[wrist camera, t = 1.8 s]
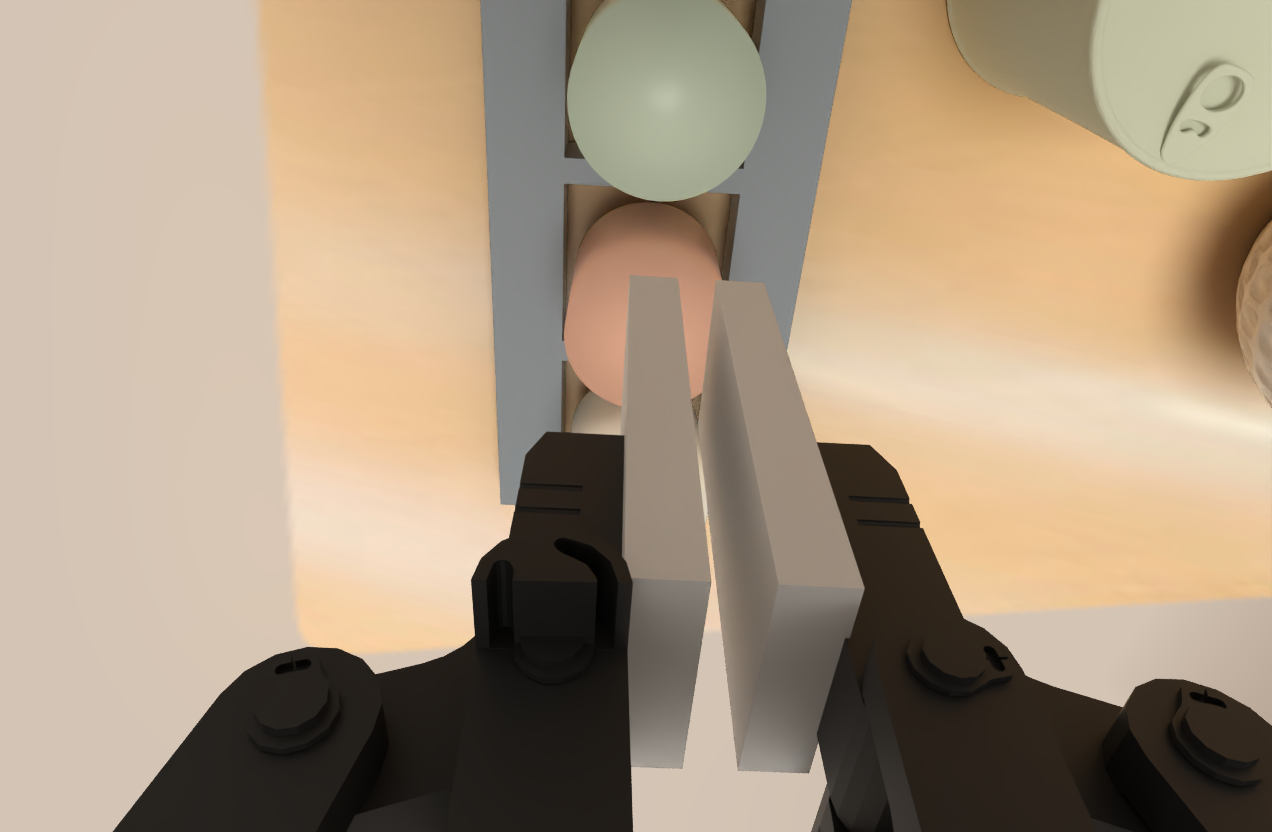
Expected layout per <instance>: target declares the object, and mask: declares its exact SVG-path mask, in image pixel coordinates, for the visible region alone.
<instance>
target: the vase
mask: <svg viewBox="0 0 1272 832" xmlns="http://www.w3.org/2000/svg"><path fill="white" fill-rule="evenodd" d="M1236 328H1237V333H1238V337H1239V342H1240V347H1241V351H1242V355H1243V359H1244V363H1245V366H1246V368H1247V369H1248V371H1249V373H1250V375H1251V377H1252V379H1253V381H1254V382H1255V384H1256V386H1257V387H1258V389H1259V391H1260V393H1261V394H1262V396H1263V398H1264V400H1265V401H1266V402H1267V403H1268V404H1269V405H1270V406H1271V408H1272V220H1271V221H1270V222H1269V223H1268V224H1267V226H1266V227H1265V228H1264V229H1263V231H1262V232H1261V234H1260V235H1259V237H1258V238H1257V240H1256V241H1255V243H1254V245H1253V247H1252V248H1251V250H1250V252H1249V254H1248V256H1247V259H1246V261H1245V263H1244V266H1243V268H1242V271H1241V274H1240V277H1239V281H1238V287H1237V293H1236Z"/></svg>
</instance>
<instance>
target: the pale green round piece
mask: <svg viewBox="0 0 1272 832" xmlns="http://www.w3.org/2000/svg"><path fill="white" fill-rule="evenodd" d="M567 106H568V115H569V121H570V126H571V129H572V132H573V136H574V138H575V140H576V143H577V145H578V147H579V149H580V151H581V153H582V154H583V156H584V157H585V159H586V161H587V162H588V163H589V164H590V166H591V167H592V168H593V169H594V170H595V171H596V172H597V173H598V174H599V175H600V176H601V177H602V178H603V179H604V180H605V181H607V182H608V183H609V184H611V185H612V186H614V187H615V188H617V189H619V190H621V191H622V192H624V193H627V194H629V195H632V196H634V197H638V198H642V199H645V200H652V201H677V200H684V199H688V198H692V197H695V196H698V195H700V194H703V193H705V192H707V191H709V190H711V189H713V188H714V187H716V186H718V185H719V184H721V183H722V182H723V181H725V180H726V179H727V178H729V177H730V176H731V175H732V174H733V173H734V172H735V171H736V170H737V169H738V168H739V167H740V165H741V164H742V163H743V162H744V160H745V159H746V158H747V156H748V155H749V153H750V151H751V150H752V148H753V146H754V144H755V142H756V140H757V138H758V136H759V133H760V130H761V127H762V124H763V119H764V114H765V108H766V81H765V75H764V69H763V66H762V63H761V59H760V56H759V54H758V52H757V49H756V47H755V45H754V43H753V41H752V40H751V38H750V37H749V35H748V34H747V32H746V31H745V29H744V28H743V27H742V26H741V24H740V23H739V22H738V20H737V19H736V18H735V17H734V15H733V14H732V13H731V12H730V10H729V9H728V8H727V7H726V5H725V4H724V3H723V2H722V1H721V0H604V1H603V2H602V3H601V4H600V5H599V6H598V8H597V9H596V11H595V12H594V14H593V15H592V17H591V19H590V21H589V23H588V25H587V27H586V29H585V32H584V35H583V38H582V40H581V43H580V46H579V48H578V51H577V54H576V56H575V59H574V62H573V65H572V68H571V72H570V77H569V82H568V92H567Z"/></svg>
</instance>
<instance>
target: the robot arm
mask: <svg viewBox="0 0 1272 832" xmlns="http://www.w3.org/2000/svg"><path fill="white" fill-rule="evenodd" d="M698 430H699V439H700V448H701V456H702V465H703V474H704V482H705V491H706V499H707V508H708V517H709V525H710V534H711V543H712V551H713V560H714V568H715V577H716V586H717V594H718V603H719V612H720V620H721V629H722V637H723V646H724V655H725V663H726V671H727V681H728V689H729V697H730V706H731V715H732V723H733V731H734V741H735V749H736V758H737V767H738V771H760V772H788V773H809V772H810V768H811V765H812V762H813V758H814V755H815V751H816V748H817V745H818V742H819V746H820V752H821V756H822V761H823V766H824V770H825V775H826V779H827V785H826V788H825V792H824V794H823V798H822V801H821V804H820V807H819V810H818V813H817V816H816V819H815V822H814V825H813V828H812V831H811V832H1272V726H1271V725H1270V724H1269V723H1268V722H1266V721H1265V720H1264V719H1263V718H1262V717H1260V716H1259V715H1258V714H1257V713H1256V712H1254V711H1253V710H1252V709H1251V708H1249V707H1247V706H1245V705H1243V704H1242V703H1240V702H1238V701H1236V700H1234V699H1233V698H1230V697H1229V696H1227V695H1225V694H1223V693H1222V692H1220V691H1218V690H1216V689H1212V688H1209V687H1206V686H1203V685H1199V684H1196V683H1193V682H1190V681H1186V680H1177V679H1154V680H1152V681H1149V682H1147V683H1145V684H1142V685H1140V686H1137V687H1135V689H1134V690H1133V692H1132V694H1131V695H1130V697H1129V699H1128V700H1127V702H1126V704H1125V705H1124V707H1120V706H1116V705H1113V704H1109V703H1106V702H1103V701H1100V700H1096V699H1093V698H1090V697H1087V696H1083V695H1080V694H1077V693H1073V692H1070V691H1066V690H1063V689H1060V688H1057V687H1053V686H1050V685H1048V684H1045V683H1042V682H1040V681H1037V680H1035V679H1032V678H1030V677H1028V676H1026V675H1025V674H1024V672H1023V670H1022V668H1021V667H1020V665H1019V664H1018V662H1017V661H1016V660H1015V658H1014V657H1013V655H1012V654H1011V652H1010V651H1009V649H1008V648H1007V647H1006V646H1005V645H1004V644H1002V643H1001V642H1000V641H999V640H997V639H996V638H995V637H994V636H993V635H991V634H990V633H989V632H988V631H986V630H985V629H984V628H982V627H980V626H978V625H976V624H974V623H971V622H969V621H967V620H965V619H964V618H963V616H962V614H961V612H960V609H959V607H958V605H957V603H956V600H955V598H954V596H953V594H952V592H951V589H950V587H949V585H948V583H947V581H946V578H945V576H944V574H943V572H942V569H941V567H940V565H939V563H938V561H937V558H936V556H935V554H934V552H933V550H932V547H931V545H930V543H929V541H928V538H927V536H926V534H925V532H924V530H923V528H920V521H919V519H918V516H917V514H916V512H915V510H914V507H913V505H912V504H909V496H908V494H907V492H906V490H905V488H904V485H903V483H902V481H901V479H900V476H899V474H898V472H897V470H896V469H895V468H894V467H893V466H892V465H891V464H889V463H888V462H887V461H886V460H885V459H884V458H883V457H882V456H881V455H880V454H879V453H878V452H877V451H876V450H874V449H873V448H872V447H871V446H870V445H858V444H838V443H818V442H816V439H815V436H814V433H813V430H812V427H811V424H810V421H809V417H808V414H807V411H806V408H805V405H804V402H803V399H802V396H801V393H800V390H799V387H798V384H797V381H796V378H795V375H794V372H793V369H792V366H791V363H790V360H789V357H788V354H787V351H786V348H785V344H784V341H783V338H782V335H781V332H780V329H779V326H778V323H777V320H776V317H775V314H774V311H773V308H772V305H771V302H770V299H769V296H768V293H767V290H766V287H765V284H764V283H759V282H742V281H724V280H716V284H715V292H714V300H713V308H712V316H711V324H710V332H709V340H708V348H707V356H706V364H705V372H704V380H703V388H702V396H701V404H700V412H699V420H698ZM471 586H472V600H473V614H474V628H475V636H474V637H473V638H472V639H471V640H470V641H468V642H467V643H466V644H465V645H464V646H462V647H460V648H458V649H456V650H455V651H453V652H451V653H449V654H447V655H446V656H444V657H440V658H438V659H434V660H431V661H428V662H426V663H422V664H418V665H414V666H410V667H405V668H401V669H397V670H393V671H388V672H384V673H379V674H374V672H373V671H372V670H371V669H370V667H369V666H368V665H367V664H366V663H365V661H364V660H363V659H361V658H359V657H357V656H354V655H352V654H350V653H347V652H345V651H343V650H340V649H338V648H318V647H306V648H302V649H297V650H293V651H289V652H285V653H281V654H277V655H274V656H272V657H270V658H268V659H267V660H265V661H263V662H261V663H259V664H257V665H256V666H253V667H252V668H250V669H248V670H246V671H244V672H243V673H242V674H241V675H240V676H239V677H238V678H237V679H236V680H235V681H234V682H233V683H232V684H231V685H230V686H229V687H227V688H226V690H224V691H223V692H222V693H221V694H220V695H219V697H218V698H217V699H216V700H215V702H214V703H213V704H212V705H211V707H210V708H209V709H208V711H207V712H206V713H205V714H204V716H203V717H202V718H201V720H200V721H199V722H198V723H197V725H196V726H195V727H194V728H193V730H192V731H191V732H190V734H189V735H188V736H187V737H186V739H185V740H184V741H183V743H182V744H181V745H180V746H179V748H178V749H177V750H176V751H175V753H174V754H173V755H172V757H171V758H170V759H169V760H168V762H167V763H166V764H165V766H164V767H163V768H162V769H161V771H160V772H159V773H158V775H157V776H156V777H155V778H154V780H153V781H152V782H151V783H150V785H149V786H148V787H147V789H146V790H145V791H144V792H143V794H142V795H141V796H140V798H139V799H138V800H137V801H136V803H135V804H134V805H133V807H132V808H131V809H130V810H129V812H128V813H127V814H126V816H125V817H124V818H123V819H122V821H121V822H120V823H119V824H118V826H117V827H116V828H115V830H114V831H113V832H633V818H632V784H631V767H652V768H679V769H682V767H683V761H684V754H685V747H686V741H687V734H688V728H689V722H690V715H691V709H692V703H693V696H694V690H695V683H696V677H697V670H698V664H699V657H700V651H701V645H702V638H703V632H704V625H705V619H706V612H707V606H708V600H709V593H710V587H711V575H710V565H709V556H708V547H707V538H706V529H705V520H704V510H703V501H702V492H701V483H700V474H699V465H698V455H697V446H696V437H695V428H694V419H693V410H692V400H691V391H690V382H689V373H688V364H687V355H686V345H685V336H684V327H683V318H682V309H681V300H680V290H679V281H678V278H672V277H654V276H637V275H629V292H628V308H627V325H626V341H625V358H624V374H623V391H622V407H621V426H620V435H607V434H587V433H567V432H546V433H545V434H544V435H543V436H542V437H541V438H540V439H539V440H538V441H537V442H536V444H535V445H534V446H533V447H532V448H531V449H530V450H529V451H528V452H527V453H526V455H525V459H524V465H523V470H522V475H521V480H520V488H519V490H518V495H517V500H516V505H515V512H514V515H513V520H512V525H511V530H510V535H509V538H508V539H506V540H503V541H501V542H500V543H499V544H497V545H496V546H495V547H494V548H493V549H491V550H490V551H489V552H488V553H487V554H486V555H484V556H483V557H482V558H481V560H480V562H479V564H478V566H477V568H476V570H475V572H474V575H473V577H472V579H471Z"/></svg>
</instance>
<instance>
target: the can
mask: <svg viewBox="0 0 1272 832" xmlns="http://www.w3.org/2000/svg"><path fill="white" fill-rule="evenodd" d="M947 12H948V18H949V23H950V27H951V31H952V34H953V37H954V39H955V42H956V44H957V47H958V49H959V51H960V52H961V54H962V56H963V58H964V59H965V60H966V62H967V63H968V65H969V66H970V67H971V68H972V69H973V70H974V71H975V72H976V73H977V74H978V75H979V76H980V77H981V78H982V79H984V80H985V81H986V82H988V83H989V84H991V85H992V86H994V87H996V88H998V89H1000V90H1002V91H1004V92H1007V93H1010V94H1014V95H1017V96H1022V97H1026V98H1028V99H1031V100H1032V101H1034V102H1036V103H1038V104H1040V105H1042V106H1044V107H1046V108H1048V109H1050V110H1052V111H1053V112H1055V113H1057V114H1059V115H1061V116H1063V117H1065V118H1067V119H1069V120H1071V121H1073V122H1074V123H1076V124H1078V125H1080V126H1082V127H1084V128H1086V129H1088V130H1089V131H1091V132H1093V133H1095V134H1096V135H1098V136H1100V137H1102V138H1104V139H1105V140H1107V141H1109V142H1111V143H1112V144H1114V145H1116V146H1118V147H1120V148H1121V149H1123V150H1124V151H1125V152H1126V153H1128V154H1129V155H1130V156H1131V157H1133V158H1134V159H1136V160H1137V161H1139V162H1140V163H1142V164H1143V165H1145V166H1147V167H1149V168H1151V169H1153V170H1155V171H1158V172H1160V173H1163V174H1166V175H1169V176H1173V177H1178V178H1182V179H1189V180H1197V181H1219V180H1231V179H1238V178H1244V177H1249V176H1252V175H1256V174H1260V173H1264V172H1268V171H1271V170H1272V0H947Z"/></svg>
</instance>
